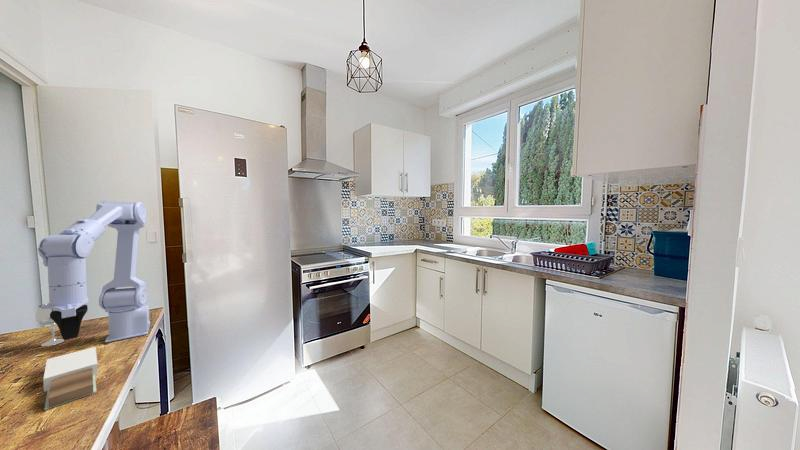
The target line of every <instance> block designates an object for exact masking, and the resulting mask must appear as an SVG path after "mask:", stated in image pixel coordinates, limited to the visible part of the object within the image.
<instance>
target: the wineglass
mask: <svg viewBox="0 0 800 450" xmlns="http://www.w3.org/2000/svg"><path fill="white" fill-rule="evenodd" d="M46 304H49V303H47V302H46ZM41 305H42V304H41ZM41 305H39V306H38V308H37V310H36V314H35V321H36V323H37V324H38V325H40V326H44V327H45V326H46V327H48V326H49V330H50V332H51V339H50V340H49V341H46V342H43V343H41V344H40V346H41V347H51V346H55V345H59V344H60V343H63V342H65V341H66V340H64V339H63V338H55V331H56V325H57V324H56V323H55V322H54V321H53V320H52V319H51V318H50V313H51V312H52V311H55V310H53V309H49V308H48V309H41Z"/></svg>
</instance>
